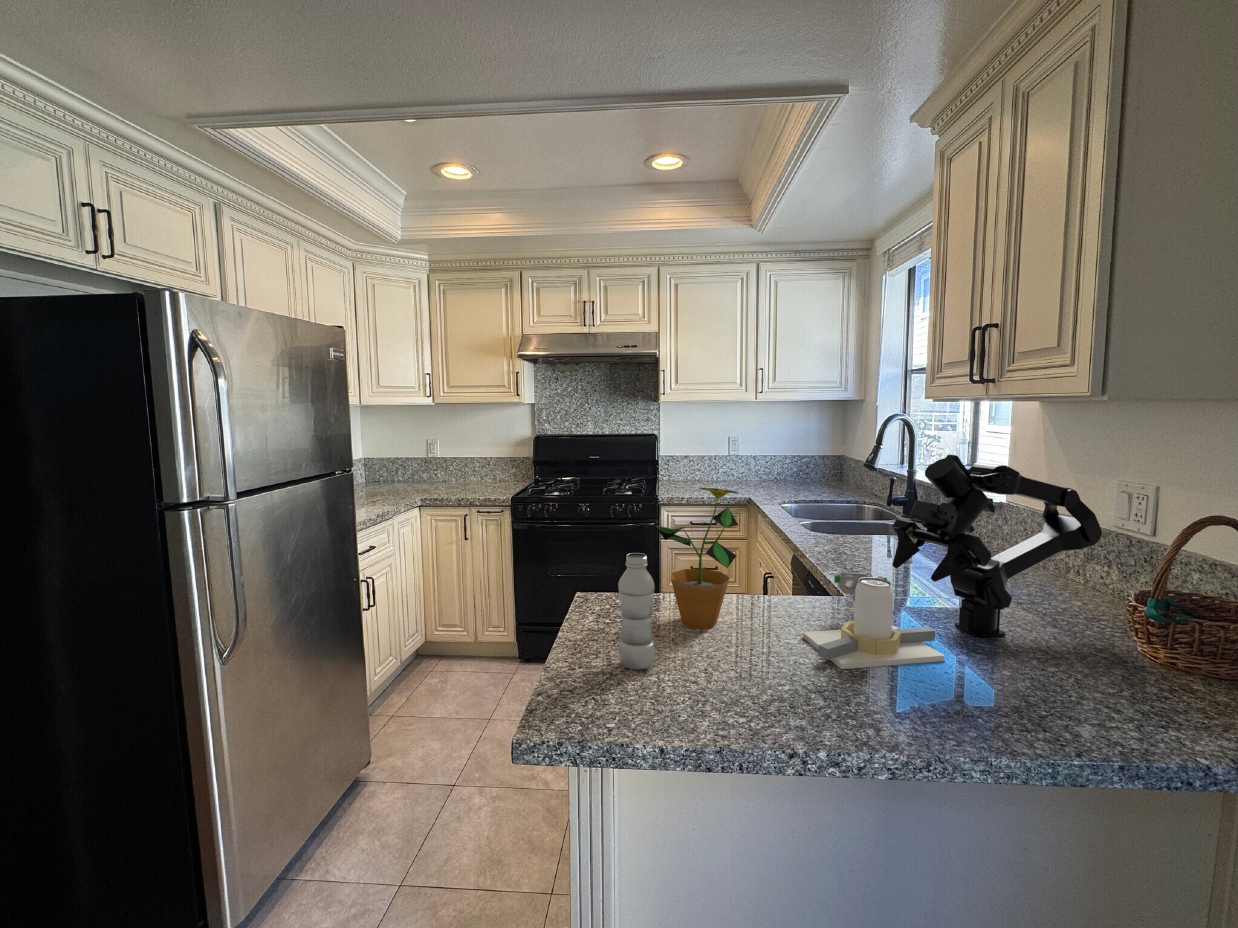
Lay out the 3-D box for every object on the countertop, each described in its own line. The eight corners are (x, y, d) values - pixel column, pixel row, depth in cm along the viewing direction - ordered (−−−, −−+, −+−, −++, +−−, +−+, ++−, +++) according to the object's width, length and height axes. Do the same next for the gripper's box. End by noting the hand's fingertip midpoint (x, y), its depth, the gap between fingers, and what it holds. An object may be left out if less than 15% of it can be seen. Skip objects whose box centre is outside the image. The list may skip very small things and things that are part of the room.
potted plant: (761, 630, 113) (763, 485, 110) (681, 645, 105) (682, 491, 103) (714, 602, 129) (715, 476, 126) (642, 614, 122) (641, 481, 119)
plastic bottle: (630, 678, 92) (629, 562, 91) (612, 662, 98) (611, 553, 97) (662, 669, 95) (662, 557, 94) (643, 654, 101) (642, 549, 100)
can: (851, 634, 107) (853, 575, 106) (887, 638, 106) (890, 578, 105) (855, 648, 101) (858, 585, 100) (894, 652, 99) (897, 588, 98)
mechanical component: (886, 625, 115) (888, 578, 114) (835, 621, 117) (836, 576, 116) (882, 619, 118) (884, 574, 117) (832, 616, 120) (834, 572, 119)
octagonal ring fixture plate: (906, 629, 112) (907, 613, 112) (958, 659, 99) (959, 640, 98) (791, 637, 109) (791, 620, 108) (828, 670, 95) (829, 650, 95)
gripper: (900, 480, 115) (855, 536, 112) (983, 492, 97) (931, 558, 95) (928, 515, 118) (884, 570, 115) (1013, 533, 100) (963, 598, 98)
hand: (912, 573), depth 106 cm, fingers open, 9 cm apart
